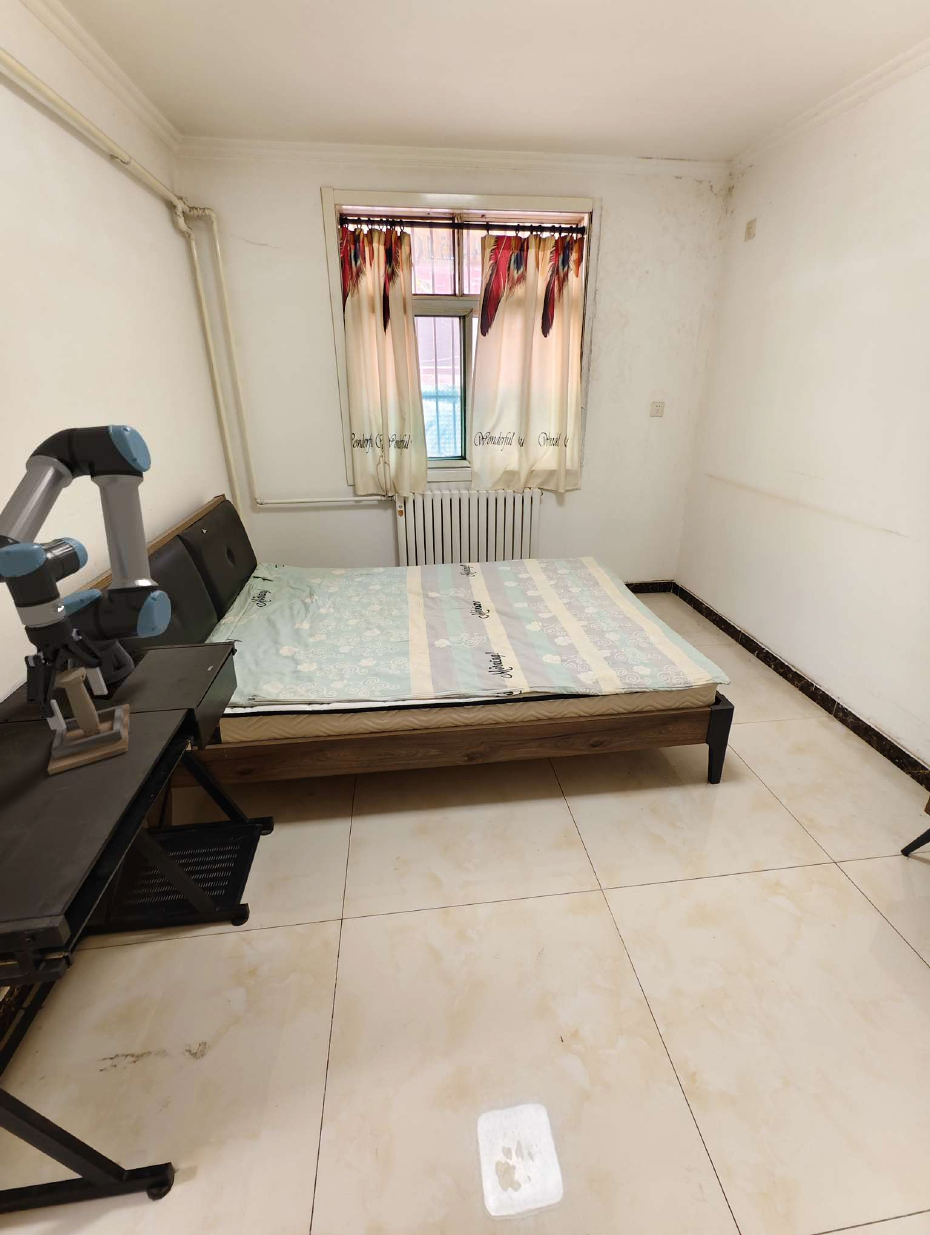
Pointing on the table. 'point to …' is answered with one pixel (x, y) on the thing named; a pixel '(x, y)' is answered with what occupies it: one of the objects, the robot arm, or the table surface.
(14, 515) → the robot arm
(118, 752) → the collar board
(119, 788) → the table surface
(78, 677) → the handle
